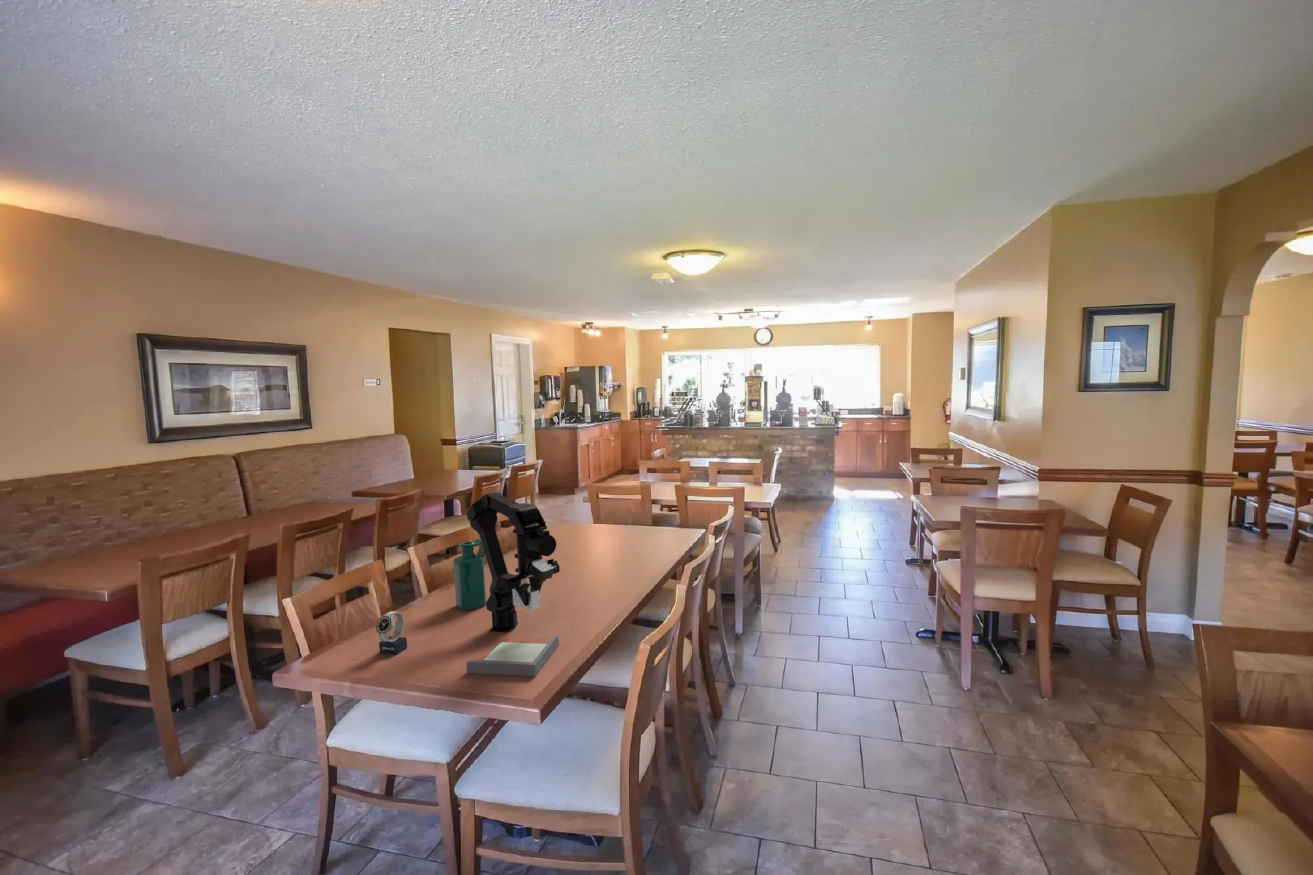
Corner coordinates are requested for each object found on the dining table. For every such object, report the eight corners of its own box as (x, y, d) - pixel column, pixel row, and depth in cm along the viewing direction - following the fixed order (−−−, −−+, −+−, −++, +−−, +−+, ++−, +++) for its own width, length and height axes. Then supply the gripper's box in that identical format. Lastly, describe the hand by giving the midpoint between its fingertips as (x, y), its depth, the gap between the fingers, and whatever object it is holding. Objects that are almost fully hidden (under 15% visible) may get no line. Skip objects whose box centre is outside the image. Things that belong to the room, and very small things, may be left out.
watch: (374, 656, 156) (371, 617, 155) (395, 643, 164) (392, 606, 163) (391, 658, 154) (388, 619, 154) (411, 645, 162) (408, 608, 161)
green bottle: (463, 612, 186) (459, 546, 184) (454, 605, 193) (450, 542, 191) (492, 604, 192) (488, 541, 190) (482, 598, 199) (478, 536, 197)
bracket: (513, 605, 163) (512, 588, 163) (534, 596, 170) (533, 580, 169) (531, 610, 158) (530, 593, 158) (553, 601, 165) (552, 584, 164)
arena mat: (474, 670, 145) (474, 669, 145) (501, 643, 161) (501, 642, 161) (533, 673, 143) (533, 672, 143) (554, 645, 158) (554, 644, 158)
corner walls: (466, 673, 144) (466, 661, 144) (496, 643, 161) (496, 633, 161) (535, 676, 141) (535, 664, 141) (558, 645, 158) (558, 635, 158)
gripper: (520, 562, 147) (523, 620, 148) (571, 545, 162) (574, 598, 163) (493, 556, 154) (496, 612, 155) (545, 541, 169) (548, 592, 170)
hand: (530, 603), depth 161 cm, fingers closed on bracket, 3 cm apart
